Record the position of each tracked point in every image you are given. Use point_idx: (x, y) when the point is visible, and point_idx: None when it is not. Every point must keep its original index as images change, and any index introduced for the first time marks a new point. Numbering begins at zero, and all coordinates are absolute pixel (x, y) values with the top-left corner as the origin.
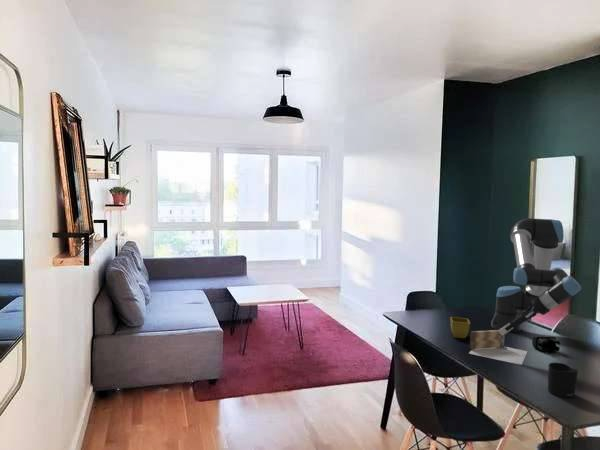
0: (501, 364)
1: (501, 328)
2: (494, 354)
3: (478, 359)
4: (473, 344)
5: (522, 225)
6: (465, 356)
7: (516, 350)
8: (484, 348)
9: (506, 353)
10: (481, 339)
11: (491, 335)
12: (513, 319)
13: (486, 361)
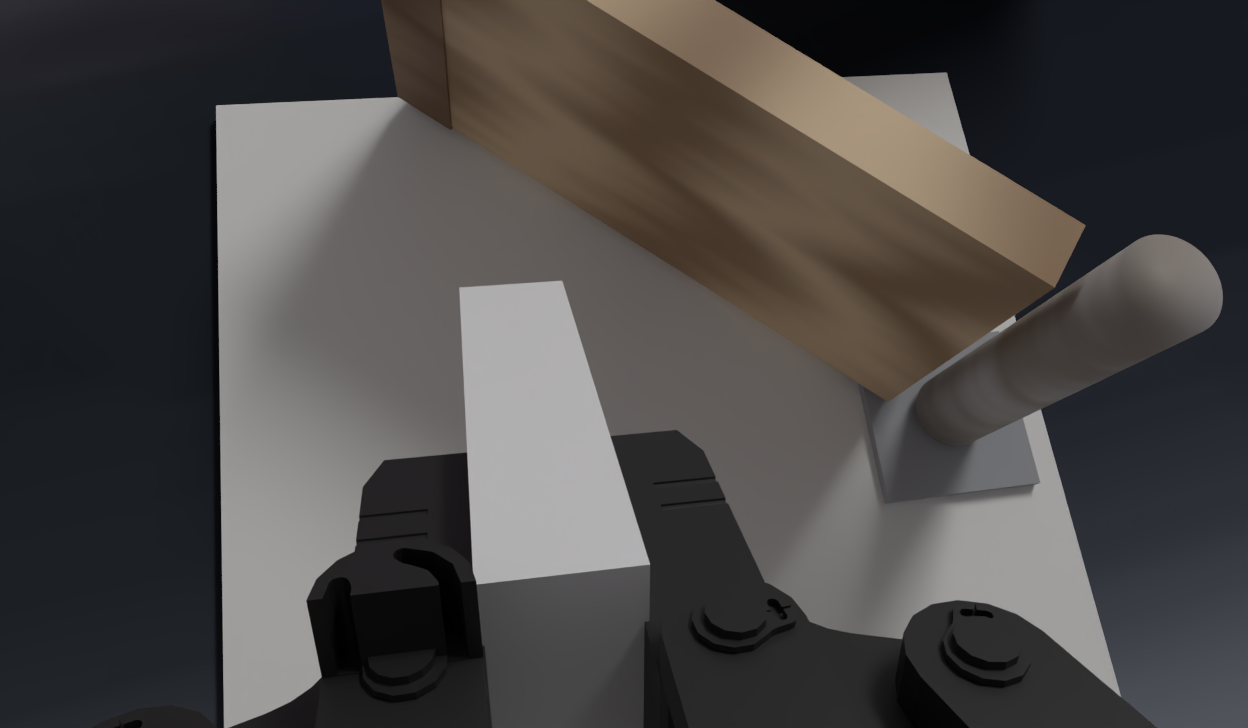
0: (43, 673)
1: (505, 337)
2: None
3: (54, 293)
4: (410, 56)
5: None
6: (69, 105)
7: None
8: None
9: None
10: (556, 94)
11: (778, 185)
12: (967, 639)
13: (35, 421)
